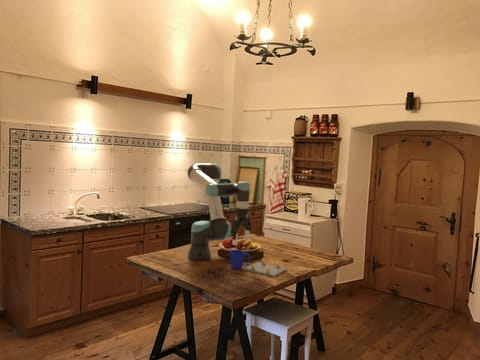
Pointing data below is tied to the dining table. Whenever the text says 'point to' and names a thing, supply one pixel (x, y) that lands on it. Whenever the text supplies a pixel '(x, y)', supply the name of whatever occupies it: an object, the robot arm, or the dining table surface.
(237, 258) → the mug
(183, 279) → the dining table surface
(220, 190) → the robot arm
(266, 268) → the tray
